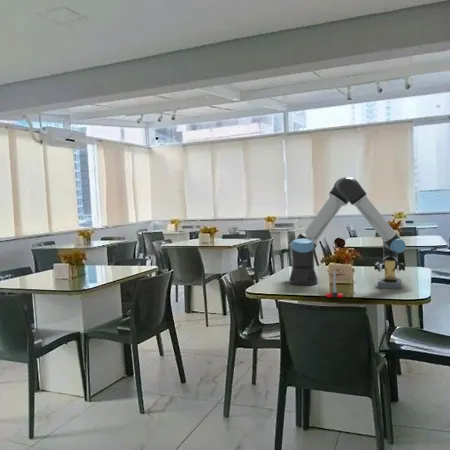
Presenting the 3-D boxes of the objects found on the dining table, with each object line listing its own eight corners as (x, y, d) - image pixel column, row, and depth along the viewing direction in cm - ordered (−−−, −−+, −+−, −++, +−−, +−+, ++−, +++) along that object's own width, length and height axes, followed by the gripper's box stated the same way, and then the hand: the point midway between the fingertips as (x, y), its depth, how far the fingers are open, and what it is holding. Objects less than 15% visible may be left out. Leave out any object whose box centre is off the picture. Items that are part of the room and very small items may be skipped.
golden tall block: (384, 287, 240) (384, 261, 240) (384, 285, 245) (384, 260, 244) (395, 287, 239) (395, 261, 238) (395, 285, 243) (395, 260, 243)
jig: (377, 288, 239) (377, 282, 239) (378, 284, 248) (378, 278, 248) (401, 288, 235) (401, 282, 235) (401, 285, 245) (401, 279, 245)
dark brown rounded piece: (326, 268, 307) (325, 237, 305) (349, 268, 306) (349, 236, 305) (330, 272, 292) (329, 239, 291) (354, 271, 291) (354, 238, 290)
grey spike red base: (324, 295, 229) (325, 298, 220) (324, 268, 229) (325, 270, 220) (342, 295, 228) (344, 298, 219) (342, 267, 228) (343, 270, 218)
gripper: (410, 270, 255) (411, 277, 233) (370, 269, 262) (368, 276, 240) (410, 256, 255) (411, 262, 233) (370, 256, 261) (367, 261, 240)
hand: (389, 269), depth 237 cm, fingers open, 7 cm apart
